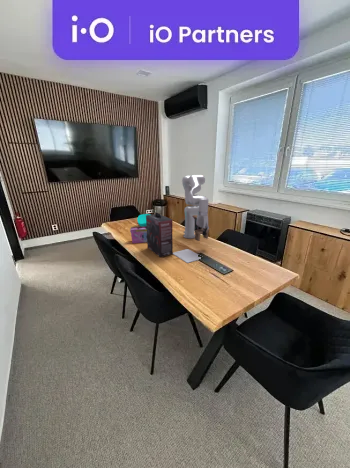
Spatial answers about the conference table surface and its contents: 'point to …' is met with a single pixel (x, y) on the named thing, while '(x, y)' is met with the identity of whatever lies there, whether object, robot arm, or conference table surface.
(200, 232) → the walnut stool
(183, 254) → the grey pad
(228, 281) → the conference table surface
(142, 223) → the table top decor
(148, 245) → the headset box
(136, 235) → the gum box
